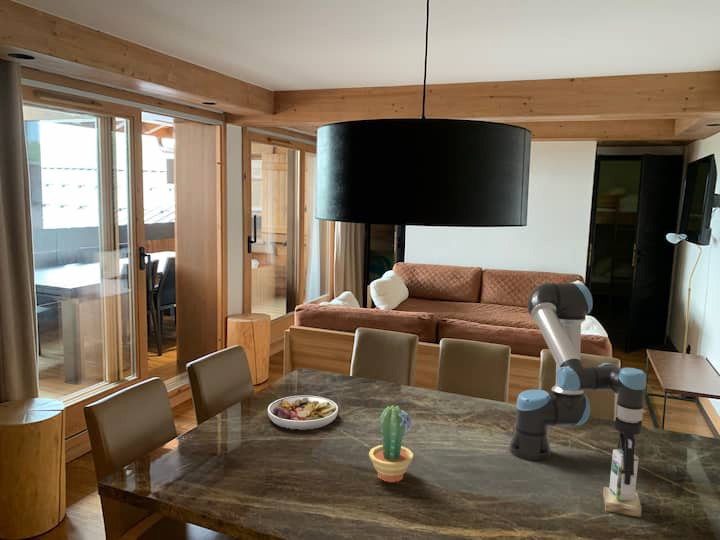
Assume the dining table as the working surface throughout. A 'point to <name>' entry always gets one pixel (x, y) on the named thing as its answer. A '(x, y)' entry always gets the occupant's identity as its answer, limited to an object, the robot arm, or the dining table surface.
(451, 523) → the dining table surface
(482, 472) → the dining table surface
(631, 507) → the panel
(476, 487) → the dining table surface
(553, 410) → the robot arm
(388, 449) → the potted cactus
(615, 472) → the syrup box
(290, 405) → the bowl
